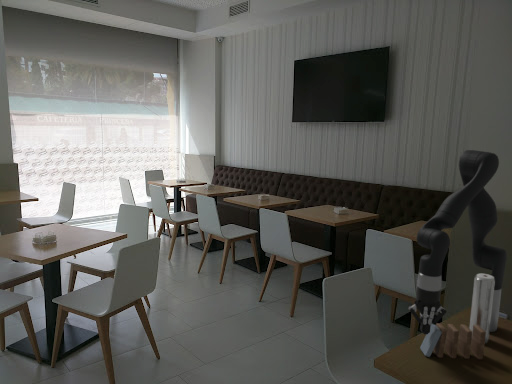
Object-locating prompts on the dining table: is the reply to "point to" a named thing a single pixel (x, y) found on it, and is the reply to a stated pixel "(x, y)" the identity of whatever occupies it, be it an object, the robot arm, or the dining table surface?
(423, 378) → the dining table surface
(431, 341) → the slate domino
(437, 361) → the dining table surface
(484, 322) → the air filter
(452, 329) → the walnut domino
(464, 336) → the walnut domino
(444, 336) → the walnut domino
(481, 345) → the walnut domino
